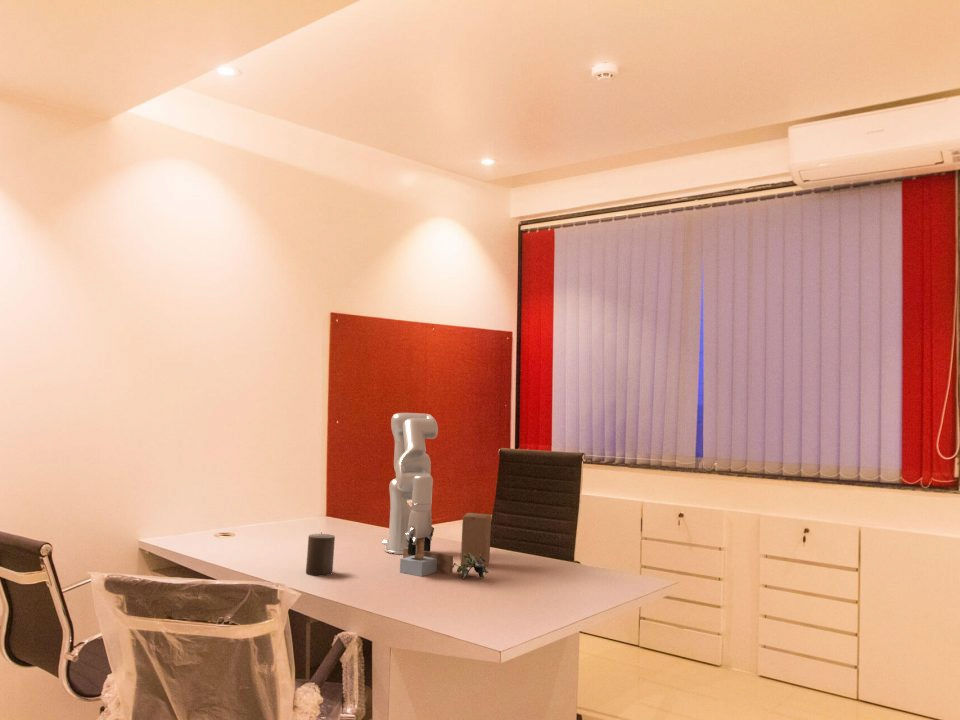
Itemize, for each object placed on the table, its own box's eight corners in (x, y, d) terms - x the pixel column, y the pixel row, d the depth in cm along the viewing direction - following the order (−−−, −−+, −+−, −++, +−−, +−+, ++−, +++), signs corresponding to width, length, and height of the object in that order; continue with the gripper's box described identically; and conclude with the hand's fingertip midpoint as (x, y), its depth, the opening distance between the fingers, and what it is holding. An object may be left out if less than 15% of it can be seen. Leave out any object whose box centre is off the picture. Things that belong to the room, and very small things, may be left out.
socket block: (399, 572, 290) (400, 558, 291) (415, 568, 299) (415, 555, 299) (421, 576, 285) (422, 562, 286) (436, 571, 294) (437, 558, 294)
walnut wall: (402, 566, 302) (403, 548, 302) (405, 565, 304) (406, 547, 304) (449, 574, 291) (450, 556, 291) (452, 574, 292) (453, 555, 293)
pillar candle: (316, 577, 277) (319, 535, 278) (300, 571, 284) (303, 531, 285) (337, 573, 285) (340, 533, 286) (322, 568, 291) (325, 529, 292)
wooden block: (484, 568, 305) (487, 517, 306) (460, 566, 307) (462, 515, 308) (489, 563, 315) (491, 514, 316) (465, 561, 317) (467, 512, 318)
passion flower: (479, 592, 288) (496, 569, 284) (457, 590, 281) (474, 567, 278) (467, 570, 296) (483, 547, 292) (445, 567, 289) (461, 544, 286)
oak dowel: (412, 569, 292) (413, 537, 292) (417, 567, 295) (418, 536, 295) (419, 570, 290) (420, 538, 290) (424, 569, 293) (426, 537, 293)
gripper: (426, 504, 303) (424, 548, 302) (400, 508, 288) (397, 554, 287) (442, 506, 299) (439, 551, 298) (416, 511, 284) (413, 557, 283)
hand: (419, 552), depth 293 cm, fingers open, 9 cm apart
